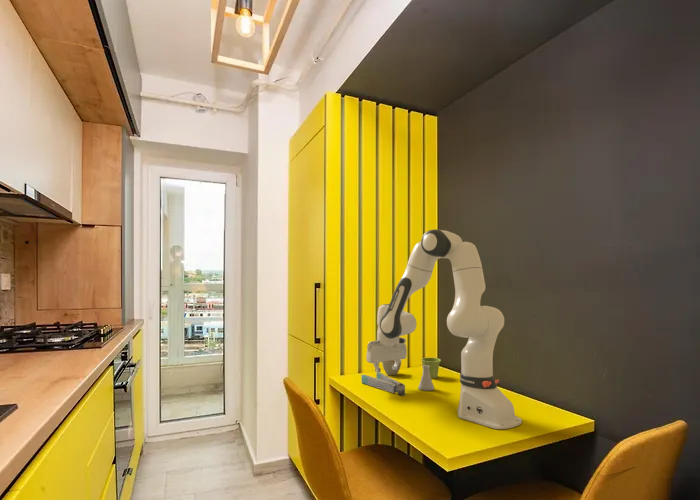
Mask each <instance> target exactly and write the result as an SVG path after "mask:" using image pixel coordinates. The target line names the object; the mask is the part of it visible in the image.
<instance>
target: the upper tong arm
mask: <svg viewBox="0 0 700 500" xmlns="http://www.w3.org/2000/svg"><path fill="white" fill-rule="evenodd" d="M361 384H364V385H367V386H370V387H374V388H377V389H380V390H383V391H386V392H389V393H392V394H396V393H397V391H396V384H393V383H390V382H387V381H383V380H380V379H377V377H376V378H375V377H374V376H370V375H366V374H361Z"/></svg>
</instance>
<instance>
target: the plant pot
mask: <svg viewBox="0 0 700 500" xmlns="http://www.w3.org/2000/svg"><path fill="white" fill-rule="evenodd" d="M441 361H442V360H441V359H440V358H437V357H423V358H421V362H422V366H430V368H429V373H430V377H431V380H432V379H438V375H439V369H440V363H441Z"/></svg>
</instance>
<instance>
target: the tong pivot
mask: <svg viewBox="0 0 700 500" xmlns="http://www.w3.org/2000/svg"><path fill="white" fill-rule="evenodd" d="M396 393H397V396H401V397H402V396H405V395H406V384H405V383H402V382H400V384H398V385H397V391H396Z"/></svg>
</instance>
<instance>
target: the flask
mask: <svg viewBox="0 0 700 500" xmlns="http://www.w3.org/2000/svg"><path fill="white" fill-rule="evenodd" d="M429 368H430V366H423V365H422V374H421V375H422V376H421V380H420V382H419V383H418V384H419V385H418V387H417V389H419V390H420V391H427V392H429V391H430V392H431V391H434V390H435V386H434V383H433V381H432V378H431V377H430V373H429Z"/></svg>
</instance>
